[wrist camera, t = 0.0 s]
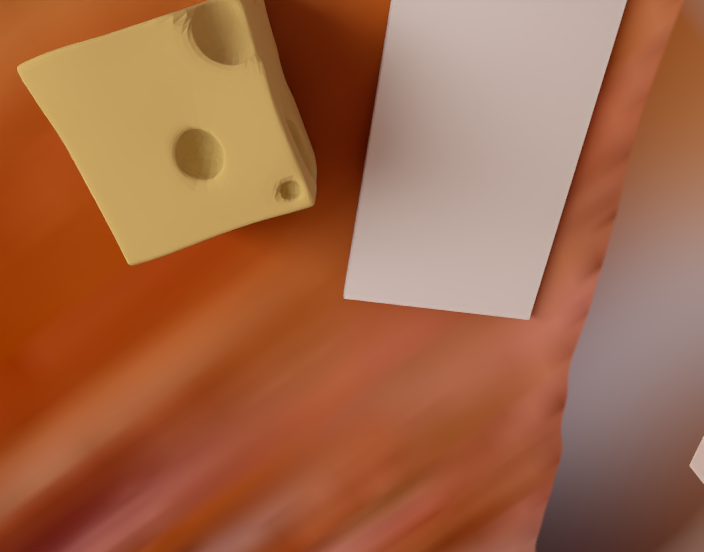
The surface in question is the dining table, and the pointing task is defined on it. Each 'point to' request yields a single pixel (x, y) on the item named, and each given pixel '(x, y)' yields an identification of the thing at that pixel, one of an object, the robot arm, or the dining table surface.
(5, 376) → the dining table surface
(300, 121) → the cheese
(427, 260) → the mat
